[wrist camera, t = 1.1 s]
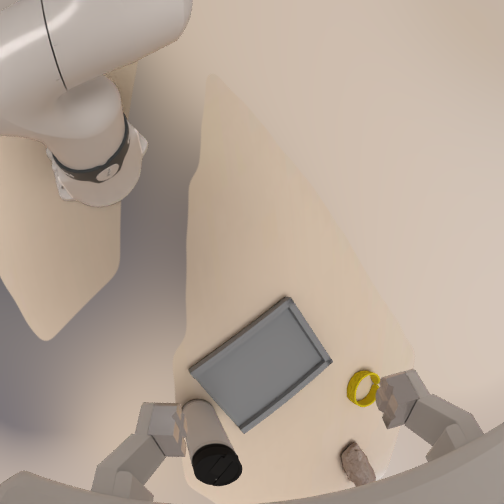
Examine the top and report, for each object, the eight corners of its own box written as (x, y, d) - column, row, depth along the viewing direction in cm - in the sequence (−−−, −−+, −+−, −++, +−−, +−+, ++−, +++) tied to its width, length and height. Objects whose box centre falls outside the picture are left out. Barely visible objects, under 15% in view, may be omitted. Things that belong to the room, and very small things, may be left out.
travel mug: (222, 406, 50) (254, 462, 31) (203, 432, 48) (227, 495, 29) (192, 391, 49) (212, 446, 30) (174, 418, 47) (185, 481, 28)
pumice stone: (370, 469, 58) (393, 485, 49) (347, 485, 56) (368, 503, 47) (358, 434, 58) (384, 450, 49) (333, 451, 56) (356, 470, 46)
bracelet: (347, 407, 58) (355, 412, 55) (344, 376, 58) (353, 380, 55) (372, 395, 60) (381, 399, 57) (371, 365, 60) (380, 368, 57)
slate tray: (188, 369, 49) (190, 373, 47) (285, 296, 56) (290, 297, 53) (240, 428, 51) (244, 433, 48) (326, 358, 57) (332, 361, 55)
